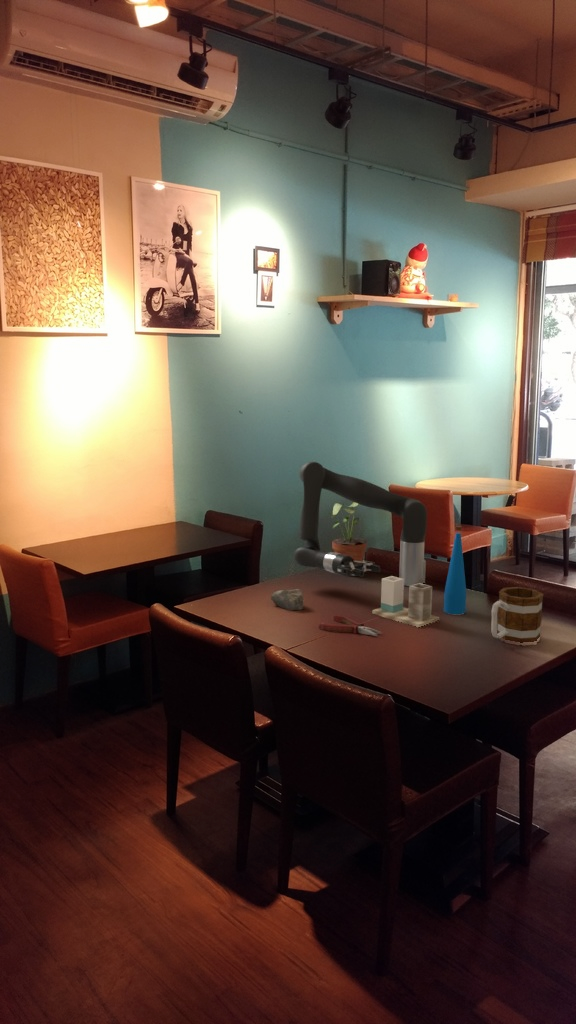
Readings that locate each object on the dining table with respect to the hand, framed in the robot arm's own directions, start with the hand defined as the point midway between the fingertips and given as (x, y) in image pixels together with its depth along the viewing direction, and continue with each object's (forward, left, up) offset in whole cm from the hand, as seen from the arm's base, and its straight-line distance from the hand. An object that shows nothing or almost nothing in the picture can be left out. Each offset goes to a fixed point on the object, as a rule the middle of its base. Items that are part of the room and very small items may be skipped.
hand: (371, 571), depth 276 cm
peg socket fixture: (-5, +15, -13) cm, 20 cm away
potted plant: (-13, -45, -13) cm, 48 cm away
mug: (-24, +47, -13) cm, 55 cm away
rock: (+27, -12, -13) cm, 32 cm away
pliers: (+19, +20, -14) cm, 31 cm away
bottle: (-24, +16, -13) cm, 32 cm away
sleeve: (-3, +9, -12) cm, 15 cm away
